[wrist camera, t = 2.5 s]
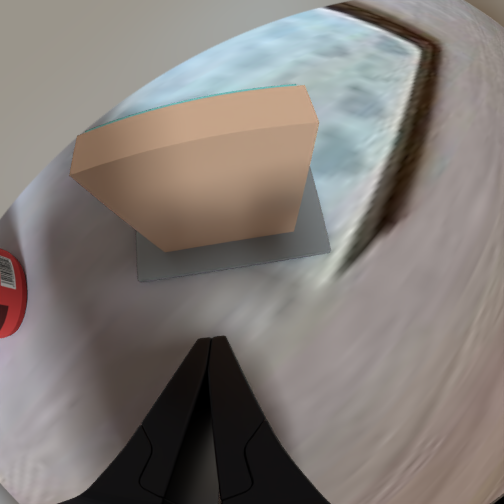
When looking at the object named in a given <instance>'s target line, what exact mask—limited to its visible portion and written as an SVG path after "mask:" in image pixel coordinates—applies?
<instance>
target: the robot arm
mask: <svg viewBox="0 0 504 504" xmlns="http://www.w3.org/2000/svg"><path fill="white" fill-rule="evenodd" d="M141 424H142V425H140V426H139V427H138V429H137V430H136V432H135V433H134V435H133V436H132V437H131V439H130V440H129V442H128V443H127V444H126V446H125V447H124V448H123V450H122V451H121V452H120V453H119V454H118V456H117V457H116V458H115V459H114V460H113V462H112V463H111V464H110V465H109V466H108V467H107V468H106V470H105V471H104V472H103V473H102V474H101V475H100V476H99V477H98V479H97V480H96V481H95V482H94V483H93V484H92V485H91V486H90V487H89V488H88V489H87V490H86V491H85V492H83V493H82V494H80V495H79V496H77V497H75V498H72V499H70V500H67V501H64V502H61V503H58V504H218V497H219V491H220V498H221V501H222V502H221V504H330V503H329V502H328V501H327V500H326V499H325V498H324V497H323V495H322V494H321V493H320V492H319V491H318V490H317V489H316V488H315V486H314V485H313V484H312V483H311V482H310V481H309V479H308V478H307V477H306V476H305V475H304V474H303V472H302V471H301V470H300V469H299V468H298V466H297V465H296V464H295V463H294V461H293V460H292V459H291V458H290V456H289V455H288V453H287V452H286V451H285V449H284V448H283V447H282V445H281V444H280V442H279V440H278V439H277V437H276V435H275V433H274V432H273V430H272V428H271V426H270V424H269V422H268V421H267V420H266V417H265V415H264V413H263V411H262V409H261V407H260V405H259V403H258V401H257V400H256V398H255V396H254V394H253V392H252V390H251V388H250V386H249V384H248V382H247V379H246V377H245V375H244V373H243V371H242V369H241V367H240V365H239V363H238V361H237V359H236V357H235V355H234V352H233V350H232V348H231V346H230V344H229V342H228V340H227V338H226V336H217V337H213V338H210V337H208V338H200V339H198V340H197V341H196V343H195V344H194V346H193V347H192V349H191V350H190V352H189V353H188V355H187V356H186V358H185V359H184V361H183V362H182V364H181V365H180V367H179V368H178V370H177V371H176V372H175V374H174V375H173V377H172V378H171V380H170V381H169V383H168V384H167V386H166V387H165V389H164V390H163V392H162V393H161V395H160V396H159V398H158V399H157V401H156V402H155V404H154V405H153V407H152V408H151V410H150V411H149V413H148V414H147V416H146V417H145V419H144V420H143V422H142V423H141ZM490 504H504V494H502V495H501V496H500V497H498V498H497V499H496V500H494V501H493V502H492V503H490Z"/></svg>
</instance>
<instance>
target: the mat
mask: <svg viewBox="0 0 504 504" xmlns="http://www.w3.org/2000/svg"><path fill="white" fill-rule="evenodd" d="M330 251H331V248H330V244H329V239H328V235H327V231H326V226H325V222H324V218H323V214H322V210H321V206H320V202H319V198H318V194H317V190H316V187H315V183H314V179H313V176H312V172H311V168H310V167H309V171H308V175H307V179H306V184H305V188H304V192H303V196H302V200H301V205H300V209H299V213H298V217H297V221H296V225H295V229H294V232H288V233H281V234H275V235H269V236H262V237H256V238H250V239H243V240H237V241H231V242H225V243H219V244H213V245H206V246H200V247H194V248H188V249H182V250H177V251H171V252H164V251H162V250H161V249H160V248H159V247H157V246H156V245H155V244H153V243H152V242H151V241H149V240H148V239H147V238H145V237H144V236H143V235H142V234H140V233H139V232H138V231H136V252H137V274H138V281H140V282H146V281H153V280H159V279H166V278H173V277H180V276H186V275H193V274H200V273H206V272H213V271H219V270H226V269H232V268H239V267H245V266H251V265H258V264H264V263H270V262H277V261H283V260H289V259H295V258H301V257H307V256H313V255H319V254H325V253H330Z"/></svg>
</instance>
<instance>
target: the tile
mask: <svg viewBox="0 0 504 504" xmlns="http://www.w3.org/2000/svg"><path fill="white" fill-rule="evenodd" d="M318 126H319V121H318V118H317V115H316V113H315V110H314V107H313V105H312V102H311V100H310V97H309V95H308V92H307V90H306V87H305V85H301V86H297V85H296V84H292V85H280V86H270V87H261V88H253V89H245V90H239V91H232V92H226V93H220V94H215V95H209V96H204V97H199V98H195V99H190V100H185V101H181V102H177V103H173V104H169V105H165V106H161V107H157V108H154V109H150V110H146V111H143V112H140V113H136V114H133V115H130V116H127V117H124V118H120V119H117V120H114V121H112V122H109V123H106V124H103V125H100V126H98V127H95V128H92V129H90V130H87V131H85V133H83V134H81V135H78V136H77V139H76V144H75V148H74V153H73V158H72V163H71V169H70V175H69V176H71V177H72V178H73V179H74V180H75V181H76V182H78V183H79V184H80V185H81V186H82V187H84V188H85V189H86V190H87V191H88V192H90V193H91V194H92V195H93V196H94V197H96V198H97V199H98V200H99V201H100V202H102V203H103V204H104V205H105V206H106V207H108V208H109V209H110V210H111V211H113V212H114V213H115V214H116V215H118V216H119V217H120V218H121V219H123V220H124V221H125V222H126V223H128V224H129V225H130V226H131V227H133V228H134V229H135V230H136V231H138V232H139V233H140V234H142V235H143V236H144V237H145V238H147V239H148V240H149V241H151V242H152V243H153V244H155V245H156V246H157V247H159V248H160V249H161V250H162V251H164V252H171V251H177V250H182V249H188V248H194V247H200V246H206V245H213V244H219V243H225V242H231V241H237V240H243V239H250V238H256V237H262V236H269V235H275V234H281V233H288V232H294V229H295V225H296V221H297V217H298V213H299V209H300V205H301V200H302V196H303V192H304V188H305V184H306V179H307V175H308V171H309V167H310V162H311V158H312V153H313V149H314V144H315V140H316V135H317V131H318Z"/></svg>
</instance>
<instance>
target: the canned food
mask: <svg viewBox="0 0 504 504" xmlns="http://www.w3.org/2000/svg"><path fill="white" fill-rule="evenodd" d="M26 302H27V286H26V279H25V274H24V271H23V268H22V266H21V264H20V263H19V261H18V260H17V259H16V258H15V257H14V256H13V255H12V254H10V253H9V252H7V251H5V250H3V249H0V338H5V337H7V336H10V335H12V334H13V333H15V332H16V331H17V330H18V328H19V327H20V325H21V323H22V320H23V318H24V314H25V310H26Z"/></svg>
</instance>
